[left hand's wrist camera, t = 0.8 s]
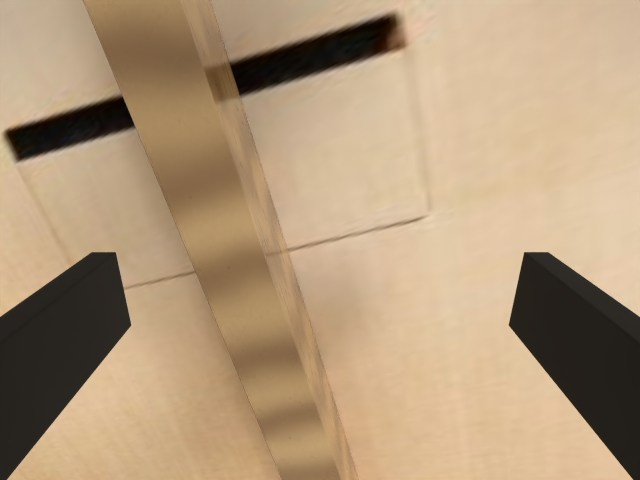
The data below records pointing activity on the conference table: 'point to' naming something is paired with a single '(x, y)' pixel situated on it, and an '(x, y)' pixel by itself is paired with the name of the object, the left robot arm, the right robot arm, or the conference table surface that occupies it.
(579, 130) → the conference table surface
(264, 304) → the bar
